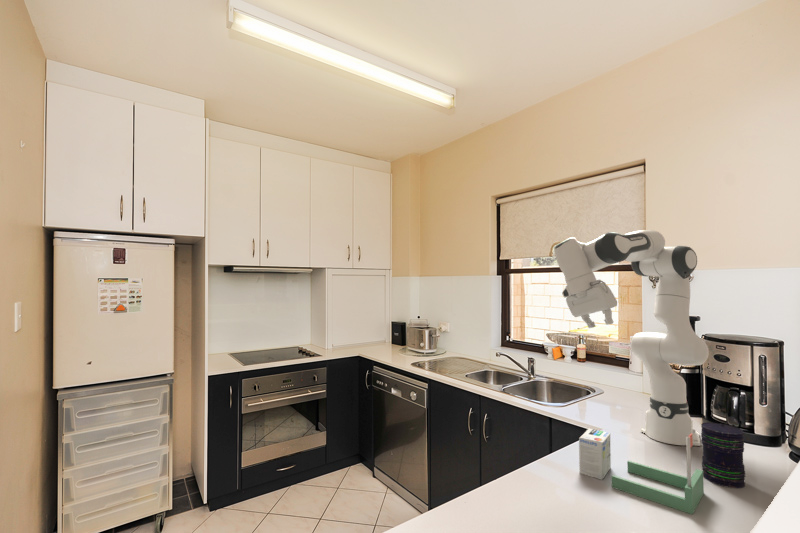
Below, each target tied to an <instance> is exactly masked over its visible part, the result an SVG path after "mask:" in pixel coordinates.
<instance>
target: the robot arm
mask: <svg viewBox="0 0 800 533" xmlns="http://www.w3.org/2000/svg"><path fill="white" fill-rule="evenodd" d="M553 251H554V255H555V259H556V262H557V265H558V267H559V270H560V271H561V272H562V273H563V275H564V279H565V283H566V286H565V288H564V289H563V290H562V292H561V293H562V297H563V298H565V302H566V304H567V307H568V309H569V311H570V313H571V315H572V316H573V317H574V318H578V317H579V318H580V317H581V319H582V320H583V322H584V323H585V324H586V325H587V328H588V329H593V328H595V327H596V323H595V321H593V320H592V319H591V318H590V314H595V313H598V312H602V314H603V315H604V319H603V321H604V323H605V325H608V326H609V325H612V324H614V320H613V316H612V315H613V314H612V313H613V312H612V308H616V307H618V300H617V299H616V296H615V294H614V292H613V291H612V290H611V288H610V287H609V285H607V284H606V282H605V281H603V280H601V279H597V278H596V276H595V273H594V272H596V271H599V270H601V269H604V268H607V267H610V266H612V265H614V264H617V263H621V262H624V261H625V262H630V264H631V266H630V267H631V269H632V271H633V272H634V274H636V275H637V276H641V277H658V279H659V280H658V283H657V285H656V286H657V287H656V290H655V296H654V297H655V298H654V308H653V315H654V317H655V318H656V320H657V321H659V322H660V323H661V324H664V325H665V326H666V329H667V330H666V331H667V332H656V331H642V332H637V333H634V335H633V336H632V337H631V339H630V349H631V351H632V353H633V354H634V355H635V356H636V357H637V358H638V359H639V360H640V361H641V362H642V364H643V365H644V366H645V368H646V371H647V373H648V376H649V379H650V380H649V383H650V398H649V407H650V408H649V409H647V410H646V411H645V423H644V427H643V428H640V433H642V432H643V433H642V434H644V433H645V434H644V435H646V436H647V437H649V438H650V439H652V440H654V441H658V442H661V443H664V444H668V445H669V444H670V445H675V446H687V445H686V437H688V436H689V435H690V434H691V433H692V438H693V446H695V447H697V446H700V447H701V444H702V443H701V439H700V433H699V431H697V430H696V429H694V428H693V420H692V417H691V415H690V414H689V413H690V412H689V403H688V401H687V383H686V381H685V379H684V377H683V376H681V375H680V374H678V373H677V372H675V370H673V368H672V366H671V364H673V365H674V364H675V365H679V366H680V365H681V366H687V367H688V366H701V365H703V364H705V363H706V361H707V360H708V359H709V354H710V351H709V346H708V345H707V343H706V342H705V341H704V340H703V338H702V337H699V335H698V334H696V332H695V331H694V329H693V327H692V325H691V322H690V302H691V283H690V276H691V274H692V273H693V272H694V271H695V270H696V268H697V266H698V265H697V264H698V256H697V253H696V251H695V250H694V249H693V248H691V246H687V245H677V246H666V240H665V237H664V236H663V234H662V233H661V232H660V231H657V230H652V229H641V230H635V231H632V232H631V231H630V232H628V233H625V234H622V233H619V232H613V231H608V232H606V233H605V234H602V235H601V236H599V237H598V238H596V239H594V240H591V241H589V242H587V243H586V242H580V241H578V239H576V237H573V236H572V237H569V238H567V239H565V240H563V241H561V242H559V243H558V244H556V245H555V246H554V250H553Z"/></svg>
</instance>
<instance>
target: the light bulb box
mask: <svg viewBox="0 0 800 533" xmlns="http://www.w3.org/2000/svg"><path fill="white" fill-rule="evenodd" d="M578 441H579V442H578V445H579V446H578V449H579V450H578V452H579V454H578V455H579V457H578V458H579V461H578V462H579V474H581V475H584V476H589V477H592V478H595V479H598V480H603V479H604V478H605V476H606V475H607V474H608V472H609V471H610V469H611V468H612V467H611V466H612V465H611V463H612V460H611V458H612V457H611V456H612V453H611V432H607V431H603V430H598V429H593V428H589V427H588V428H587V429H586V430H585V431H584V433H583V434H582V435H581V436H580V437H579V438H578Z"/></svg>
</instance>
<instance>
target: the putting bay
mask: <svg viewBox="0 0 800 533" xmlns="http://www.w3.org/2000/svg"><path fill="white" fill-rule="evenodd" d="M685 446H686V473H687V474H686V476H684V475H680V474H677V473H674V472H669V471H668V470H667V471H666V470H663V469H659V468H656V467H652V466H649V465H645V464H641V463H638V462H635V461H632V460H627V472H628V473H632V474H634V475H637V476H640V477H644V478H647V479H651V480H654V481H658V482H660V483H664V484H666V485H667V484H668V485H670V486H674V487H677V488H680V489H683V490H684V497H683V496H681V495H676V494H675V493H671V492H667V491H665V490H661V489H658V488H656V487H655V488H654V487H652V486H649V485H646V484H642V483H639V482H635V481H633V480H629V479H626V478H623V477H620V476H617V475H615V474H612V475H611V488H614V489H616V490H619V491H623V492H626V493H628V494H632V495H633V496H637V497H640V498H642V499H644V500H645V499H646V500H648V501H652V502H655V503H657V504H660V505H663V506H667V507H669V508H672V509H675V510H678V511H681V512H684V513H686V514H690V515H693V514H694V513H695V511H696V509H697V506H698V505H699V503H700V501H701V500H702V497H703V496H704V493H705V490H704V484H705V483H704V477H703V469H698V468H696V469H695V471H693V473H692V461H691V460H692V455H691V453H692V452H691V450H692V449H691V448H692V447H693V446H694V445H693V438H692V433H691V434H690V435H689V436H688V437H686V445H685Z"/></svg>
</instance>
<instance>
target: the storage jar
mask: <svg viewBox="0 0 800 533" xmlns="http://www.w3.org/2000/svg"><path fill="white" fill-rule="evenodd" d="M700 424H701V425H700V427H701V430H700V431H701V433H700V434H701V436H700V437H701V439H700V442H701V444H702V458H701V459H702V460H701V467H702V471H703V479H704V480H707V481H708V482H710V483H712V484H715V485H718V486H721V487H725V488H730V489H742V488H745V487H746V483H745V480H746V471H745V464H744V452H745V448H744V445H745V440H744V430H742V429H741V428H739V427H736V426H734V425H729V424H725V423H718V422H710V421H709V422H702V423H700Z"/></svg>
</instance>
